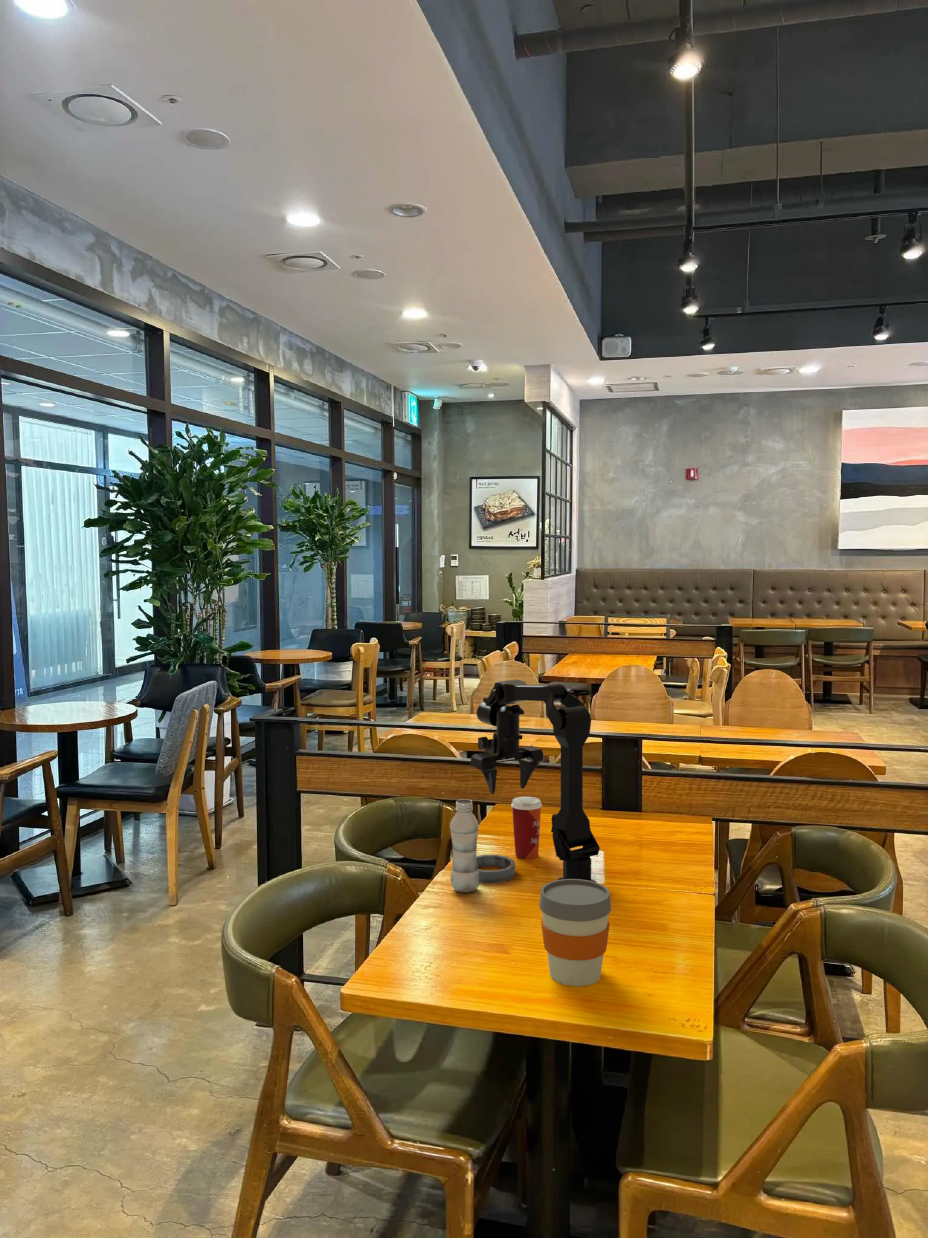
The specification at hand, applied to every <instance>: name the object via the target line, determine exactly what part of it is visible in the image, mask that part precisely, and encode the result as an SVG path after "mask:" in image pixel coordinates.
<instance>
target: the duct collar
mask: <svg viewBox="0 0 928 1238" xmlns="http://www.w3.org/2000/svg"><path fill="white" fill-rule="evenodd" d="M477 866H478V871H479V878H480V880H479V883H484V884H485V883H487V884H488V883H489V884H491V883H492V884H493V883H494V884H495V883H496V884H499V883H504V882H507V881H510V880H511V879H513V878H515V876H516V861H515V860H514V859H513V858H511V857H509V856H506V855H501V854H481V855H477ZM484 867H496V868H501V869H496V870H491V869H490V870H488V869H487V870H485V869H479V868H484Z"/></svg>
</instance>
